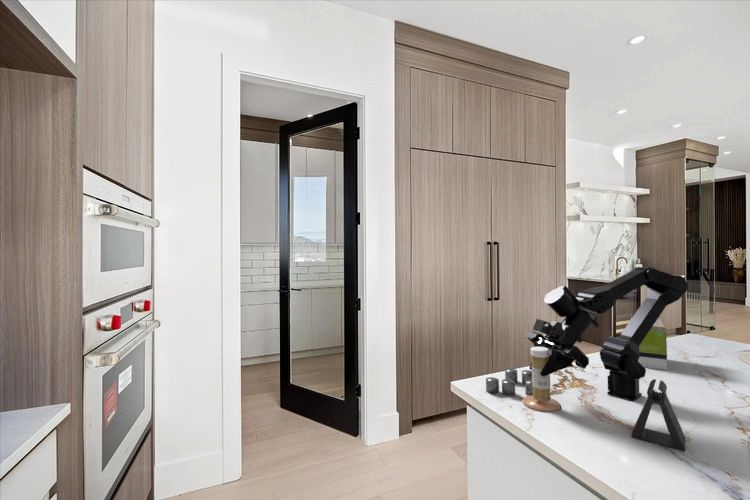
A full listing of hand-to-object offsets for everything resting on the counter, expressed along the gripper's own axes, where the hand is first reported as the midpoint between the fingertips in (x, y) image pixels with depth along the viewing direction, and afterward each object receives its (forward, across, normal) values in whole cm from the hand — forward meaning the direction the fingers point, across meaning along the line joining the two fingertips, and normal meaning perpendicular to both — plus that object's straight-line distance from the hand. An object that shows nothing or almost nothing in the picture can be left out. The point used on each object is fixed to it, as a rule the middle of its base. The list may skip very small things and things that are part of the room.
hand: (536, 372), depth 97 cm
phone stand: (-4, +21, +17) cm, 27 cm away
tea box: (-35, -23, +49) cm, 64 cm away
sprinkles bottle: (+4, 0, +6) cm, 7 cm away
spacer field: (+6, -11, +7) cm, 14 cm away
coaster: (+5, 0, +7) cm, 9 cm away
